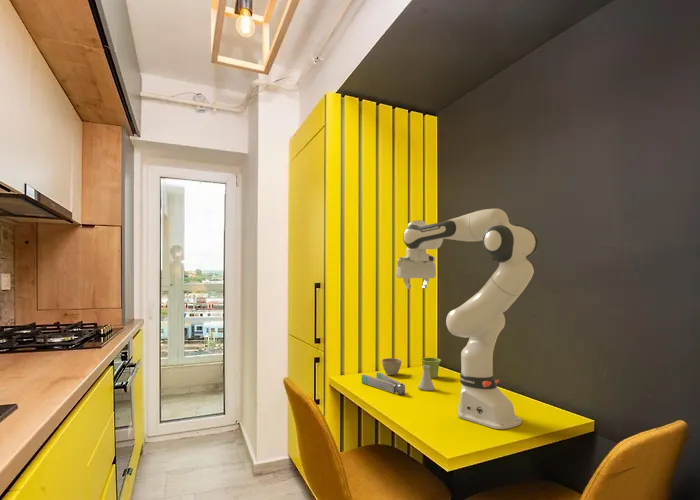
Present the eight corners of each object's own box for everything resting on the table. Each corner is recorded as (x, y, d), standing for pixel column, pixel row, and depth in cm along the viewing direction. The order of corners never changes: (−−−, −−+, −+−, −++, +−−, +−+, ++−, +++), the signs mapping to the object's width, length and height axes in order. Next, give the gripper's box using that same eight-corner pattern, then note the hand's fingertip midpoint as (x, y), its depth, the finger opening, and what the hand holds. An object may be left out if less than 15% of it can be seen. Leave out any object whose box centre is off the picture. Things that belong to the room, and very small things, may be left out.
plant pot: (440, 380, 188) (440, 362, 189) (420, 378, 191) (420, 360, 191) (441, 375, 197) (441, 358, 198) (422, 374, 200) (422, 356, 200)
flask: (433, 386, 177) (433, 364, 178) (435, 391, 170) (435, 368, 170) (417, 386, 178) (417, 364, 178) (418, 391, 170) (418, 367, 171)
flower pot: (377, 374, 199) (377, 360, 199) (390, 371, 206) (390, 357, 206) (392, 378, 192) (392, 363, 192) (405, 374, 198) (405, 360, 199)
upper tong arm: (396, 392, 167) (396, 384, 167) (393, 393, 166) (393, 385, 166) (364, 382, 183) (364, 374, 183) (361, 382, 182) (361, 375, 182)
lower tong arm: (402, 391, 168) (402, 383, 168) (398, 392, 168) (398, 383, 168) (379, 379, 187) (379, 372, 188) (376, 380, 187) (376, 372, 187)
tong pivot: (406, 394, 165) (406, 383, 165) (400, 396, 163) (400, 384, 163) (401, 393, 167) (401, 382, 168) (395, 394, 166) (395, 383, 166)
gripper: (402, 256, 165) (402, 289, 165) (437, 257, 176) (438, 288, 175) (393, 257, 171) (393, 288, 170) (428, 258, 181) (428, 288, 181)
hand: (416, 288), depth 173 cm, fingers open, 8 cm apart
